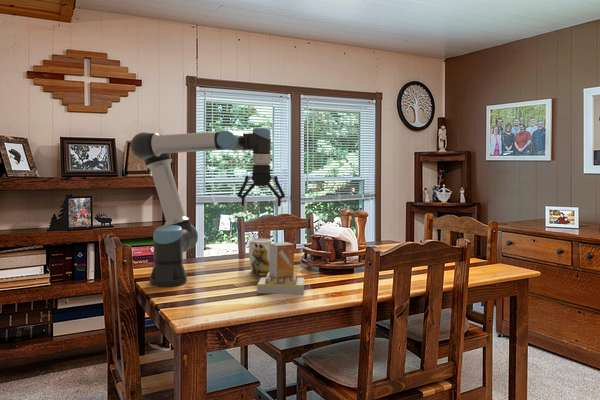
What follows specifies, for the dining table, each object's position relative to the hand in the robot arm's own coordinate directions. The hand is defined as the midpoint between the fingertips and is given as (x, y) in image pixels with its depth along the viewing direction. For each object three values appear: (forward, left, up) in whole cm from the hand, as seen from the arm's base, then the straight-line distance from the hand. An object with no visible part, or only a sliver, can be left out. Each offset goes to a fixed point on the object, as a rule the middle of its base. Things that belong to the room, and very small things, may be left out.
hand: (261, 214), depth 214 cm
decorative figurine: (0, +6, -29) cm, 30 cm away
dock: (+10, -15, -29) cm, 34 cm away
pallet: (+10, -15, -26) cm, 31 cm away
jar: (-2, +16, -29) cm, 33 cm away
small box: (+10, -15, -23) cm, 30 cm away
